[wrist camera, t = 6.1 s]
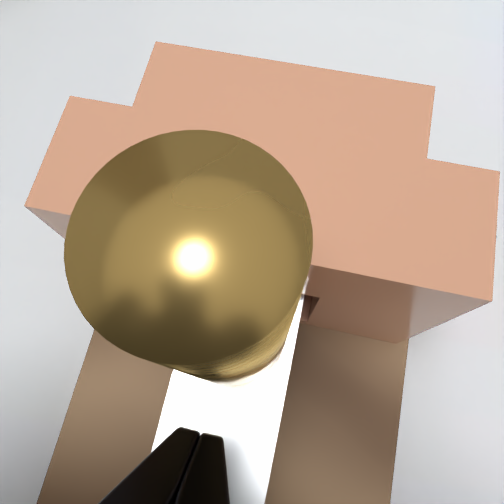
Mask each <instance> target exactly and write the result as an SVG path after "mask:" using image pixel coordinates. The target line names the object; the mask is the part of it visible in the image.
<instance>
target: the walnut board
mask: <svg viewBox="0 0 504 504" xmlns="http://www.w3.org/2000/svg"><path fill="white" fill-rule="evenodd" d="M408 341H409V338H408V339H406V340H404V341H401V342H399V343H397V344H395V343H391V342H386V341H381V340H377V339H372V338H368V337H363V336H358V335H354V334H349V333H345V332H340V331H335V330H331V329H326V328H322V327H317V326H312V325H308V324H303V323H299V326H298V331H297V336H296V342H295V347H294V352H293V357H292V362H291V368H290V373H289V378H288V383H287V388H286V394H285V399H284V404H283V409H282V415H281V420H280V425H279V430H278V435H277V441H276V446H275V451H274V456H273V461H272V467H271V472H270V477H269V482H268V488H267V493H266V498H265V503H264V504H390V498H391V489H392V480H393V472H394V463H395V454H396V445H397V437H398V428H399V419H400V411H401V402H402V393H403V384H404V376H405V367H406V358H407V349H408ZM172 373H173V369H170V368H167V367H165V366H162V365H159V364H156V363H153V362H150V361H147V360H144V359H141V358H138V357H136V356H134V355H131V354H129V353H127V352H125V351H123V350H121V349H119V348H118V347H116V346H115V345H113V344H112V343H110V342H109V341H107V340H106V339H105V338H104V337H103V336H101V335H100V334H99V333H98V332H97V331H96V330H95V329H94V332H93V335H92V338H91V341H90V344H89V347H88V350H87V353H86V356H85V359H84V362H83V365H82V368H81V371H80V374H79V377H78V380H77V383H76V386H75V389H74V392H73V395H72V398H71V401H70V404H69V407H68V410H67V413H66V416H65V420H64V423H63V426H62V429H61V432H60V435H59V438H58V441H57V444H56V447H55V450H54V453H53V456H52V459H51V462H50V465H49V468H48V471H47V474H46V477H45V480H44V483H43V486H42V489H41V492H40V495H39V498H38V501H37V504H98V503H99V502H100V501H101V500H102V499H103V498H104V497H105V496H106V495H107V494H108V493H109V492H110V491H111V490H112V489H114V488H115V487H116V486H117V485H118V484H119V483H120V482H121V481H122V480H123V479H124V478H125V477H126V476H127V475H128V474H129V473H130V472H131V471H132V470H133V469H134V468H136V467H137V466H138V465H139V464H140V463H141V462H142V461H143V460H144V459H145V458H146V457H147V456H148V455H149V454H150V453H151V451H152V447H153V443H154V440H155V436H156V432H157V429H158V425H159V421H160V418H161V414H162V410H163V406H164V403H165V399H166V395H167V392H168V388H169V384H170V381H171V377H172Z"/></svg>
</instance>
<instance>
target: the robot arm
mask: <svg viewBox="0 0 504 504" xmlns="http://www.w3.org/2000/svg"><path fill="white" fill-rule="evenodd" d="M98 504H230V498H229V488H228V478H227V468H226V458H225V448H224V440H223V438H222V437H221V436H218V435H214V434H210V433H202V434H201V435H200V432H199V431H197V430H193V429H189V428H185V427H178V428H177V429H175V430H174V431H173V432H172V433H171V434H170V435H169V436H168V437H167V438H166V439H165V440H164V441H163V442H162V443H161V444H160V445H159V446H158V447H156V448H155V449H154V450H153V451H152V452H151V453H150V454H149V455H148V456H147V457H146V458H145V459H144V460H143V461H142V462H141V463H140V464H139V465H138V466H137V467H136V468H134V469H133V470H132V471H131V472H130V473H129V474H128V475H127V476H126V477H125V478H124V479H123V480H122V481H121V482H120V483H119V484H118V485H117V486H116V487H115V488H114V489H112V490H111V491H110V492H109V493H108V494H107V495H106V496H105V497H104V498H103V499H102V500H101V501H100V502H99V503H98Z"/></svg>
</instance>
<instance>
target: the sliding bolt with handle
mask: <svg viewBox="0 0 504 504" xmlns="http://www.w3.org/2000/svg"><path fill="white" fill-rule="evenodd" d="M312 251H313V229H312V223H311V217H310V213H309V210H308V207H307V203H306V201H305V199H304V196H303V194H302V192H301V190H300V188H299V186H298V185H297V183H296V182H295V180H294V179H293V177H292V176H291V174H290V173H289V172H288V171H287V170H286V169H285V167H284V166H283V165H282V164H281V163H280V162H279V161H277V160H276V159H275V158H274V157H273V156H272V155H271V154H269V153H268V152H266V151H265V150H263V149H262V148H260V147H259V146H257V145H255V144H253V143H251V142H249V141H247V140H245V139H242V138H239V137H237V136H234V135H230V134H226V133H222V132H218V131H209V130H182V131H173V132H169V133H164V134H160V135H157V136H154V137H151V138H148V139H145V140H143V141H141V142H139V143H136V144H134V145H132V146H130V147H129V148H127V149H125V150H124V151H122V152H121V153H119V154H118V155H116V156H115V157H114V158H112V159H111V160H110V161H109V162H107V163H106V164H105V165H104V166H103V167H102V168H101V169H100V170H99V171H98V172H97V173H96V174H95V175H94V177H93V178H92V179H91V180H90V182H89V183H88V184H87V185H86V187H85V188H84V190H83V192H82V193H81V195H80V197H79V198H78V200H77V202H76V204H75V207H74V209H73V211H72V213H71V216H70V220H69V223H68V226H67V231H66V237H65V243H64V262H65V271H66V276H67V280H68V284H69V288H70V291H71V293H72V295H73V298H74V300H75V303H76V304H77V306H78V308H79V309H80V311H81V313H82V314H83V316H84V317H85V319H86V320H87V321H88V322H89V323H90V325H91V326H92V327H93V328H94V329H95V330H96V331H97V332H98V333H99V334H100V335H101V336H103V337H104V338H105V339H106V340H107V341H109V342H110V343H112V344H113V345H115V346H116V347H118V348H119V349H121V350H123V351H125V352H127V353H129V354H131V355H134V356H136V357H138V358H141V359H144V360H147V361H150V362H153V363H156V364H159V365H162V366H165V367H167V368H170V369H173V373H172V377H171V381H170V384H169V388H168V392H167V395H166V399H165V403H164V406H163V410H162V414H161V418H160V421H159V425H158V429H157V432H156V436H155V440H154V443H153V447H152V451H153V450H154V449H155V448H156V447H158V446H159V445H160V444H161V443H162V442H163V441H164V440H165V439H166V438H167V437H168V436H169V435H170V434H171V433H172V432H173V431H174V430H175V429H177V428H178V427H185V428H189V429H193V430H197V431H199V432H200V435H201V434H202V433H210V434H214V435H218V436H221V437H222V438H223V440H224V448H225V458H226V468H227V478H228V488H229V498H230V504H264V503H265V498H266V493H267V488H268V482H269V477H270V472H271V467H272V461H273V456H274V451H275V446H276V441H277V435H278V430H279V425H280V420H281V415H282V409H283V404H284V399H285V394H286V388H287V383H288V378H289V373H290V368H291V362H292V357H293V352H294V347H295V342H296V336H297V331H298V326H299V321H300V315H301V310H302V305H303V300H304V295H305V294H302V291H303V288H304V285H305V282H306V279H307V276H308V272H309V268H310V265H311V259H312ZM152 451H151V452H152Z"/></svg>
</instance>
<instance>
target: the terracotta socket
mask: <svg viewBox="0 0 504 504" xmlns="http://www.w3.org/2000/svg"><path fill="white" fill-rule="evenodd" d="M434 93H435V86H430V85H423V84H417V83H411V82H405V81H398V80H392V79H386V78H380V77H373V76H367V75H361V74H355V73H349V72H342V71H336V70H330V69H324V68H317V67H311V66H305V65H299V64H293V63H286V62H280V61H274V60H268V59H261V58H255V57H249V56H243V55H237V54H230V53H224V52H218V51H212V50H205V49H199V48H193V47H187V46H180V45H174V44H168V43H162V42H155V45H154V48H153V51H152V54H151V56H150V59H149V62H148V65H147V67H146V70H145V73H144V76H143V78H142V81H141V84H140V87H139V89H138V92H137V95H136V98H135V101H134V103H133V106H132V107H131V106H125V105H119V104H114V103H108V102H102V101H97V100H91V99H85V98H80V97H74V96H70V97H69V99H68V102H67V104H66V107H65V109H64V111H63V114H62V116H61V119H60V121H59V123H58V126H57V128H56V131H55V133H54V135H53V138H52V140H51V143H50V145H49V148H48V150H47V152H46V155H45V157H44V160H43V162H42V164H41V167H40V169H39V172H38V174H37V176H36V179H35V181H34V184H33V186H32V188H31V191H30V193H29V196H28V198H27V200H26V203H25V205H24V206H25V207H26V208H27V209H29V210H30V211H31V212H32V213H34V214H35V215H36V216H37V217H38V218H40V219H41V220H42V221H43V222H45V223H46V224H47V225H48V226H50V227H51V228H52V229H53V230H55V231H56V232H57V233H58V234H59V235H61V236H62V237H63V238H64V239H65V237H66V231H67V226H68V223H69V220H70V216H71V213H72V211H73V209H74V207H75V204H76V202H77V200H78V198H79V197H80V195H81V193H82V192H83V190H84V188H85V187H86V185H87V184H88V183H89V182H90V180H91V179H92V178H93V177H94V175H95V174H96V173H97V172H98V171H99V170H100V169H101V168H102V167H103V166H104V165H105V164H106V163H107V162H109V161H110V160H111V159H112V158H114V157H115V156H116V155H118V154H119V153H121V152H122V151H124V150H125V149H127V148H129V147H130V146H132V145H134V144H136V143H139V142H141V141H143V140H145V139H148V138H151V137H154V136H157V135H160V134H164V133H169V132H173V131H182V130H209V131H218V132H222V133H226V134H230V135H234V136H237V137H239V138H242V139H245V140H247V141H249V142H251V143H253V144H255V145H257V146H259V147H260V148H262V149H263V150H265V151H266V152H268V153H269V154H271V155H272V156H273V157H274V158H275V159H276V160H277V161H279V162H280V163H281V164H282V165H283V166H284V167H285V169H286V170H287V171H288V172H289V173H290V174H291V176H292V177H293V179H294V180H295V182H296V183H297V185H298V186H299V188H300V190H301V192H302V194H303V196H304V199H305V201H306V203H307V207H308V210H309V213H310V217H311V223H312V229H313V251H312V259H311V265H310V268H309V272H308V276H307V279H306V282H305V285H304V288H303V291H302V294H305V295H304V300H303V305H302V310H301V315H300V321H299V323H303V324H308V325H312V326H317V327H322V328H326V329H331V330H335V331H340V332H345V333H349V334H354V335H358V336H363V337H368V338H372V339H377V340H381V341H386V342H391V343H395V344H397V343H399V342H401V341H404V340H406V339H408V338H410V337H413V336H415V335H417V334H419V333H422V332H424V331H426V330H428V329H431V328H433V327H435V326H438V325H440V324H442V323H444V322H447V321H449V320H451V319H453V318H456V317H458V316H460V315H462V314H465V313H467V312H469V311H471V310H474V309H476V308H478V307H480V306H483V305H485V304H487V303H489V302H492V296H493V279H494V262H495V244H496V227H497V210H498V193H499V176H500V172H499V171H494V170H488V169H482V168H477V167H471V166H465V165H460V164H454V163H448V162H443V161H437V160H431V159H427V153H428V144H429V136H430V127H431V119H432V110H433V101H434Z"/></svg>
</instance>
